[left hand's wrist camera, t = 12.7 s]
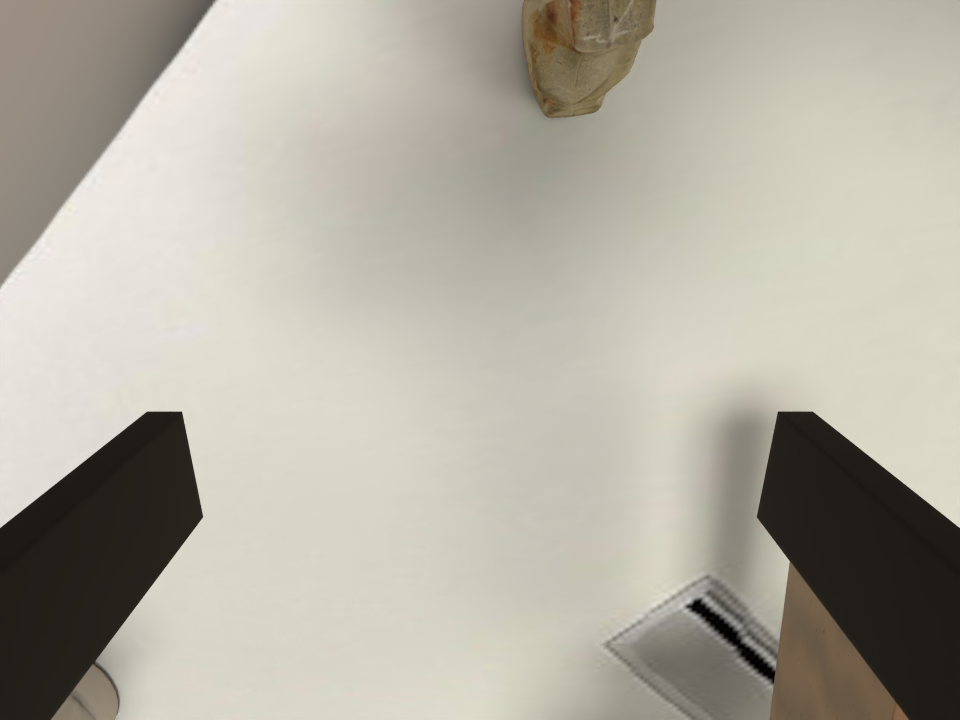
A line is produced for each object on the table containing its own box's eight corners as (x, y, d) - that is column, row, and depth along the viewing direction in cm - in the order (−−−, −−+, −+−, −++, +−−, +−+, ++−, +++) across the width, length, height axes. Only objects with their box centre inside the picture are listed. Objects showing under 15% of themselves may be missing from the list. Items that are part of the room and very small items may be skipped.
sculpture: (607, -16, 34) (696, -130, 20) (607, 115, 37) (687, 94, 23) (510, -6, 34) (531, -113, 20) (517, 122, 37) (540, 107, 23)
